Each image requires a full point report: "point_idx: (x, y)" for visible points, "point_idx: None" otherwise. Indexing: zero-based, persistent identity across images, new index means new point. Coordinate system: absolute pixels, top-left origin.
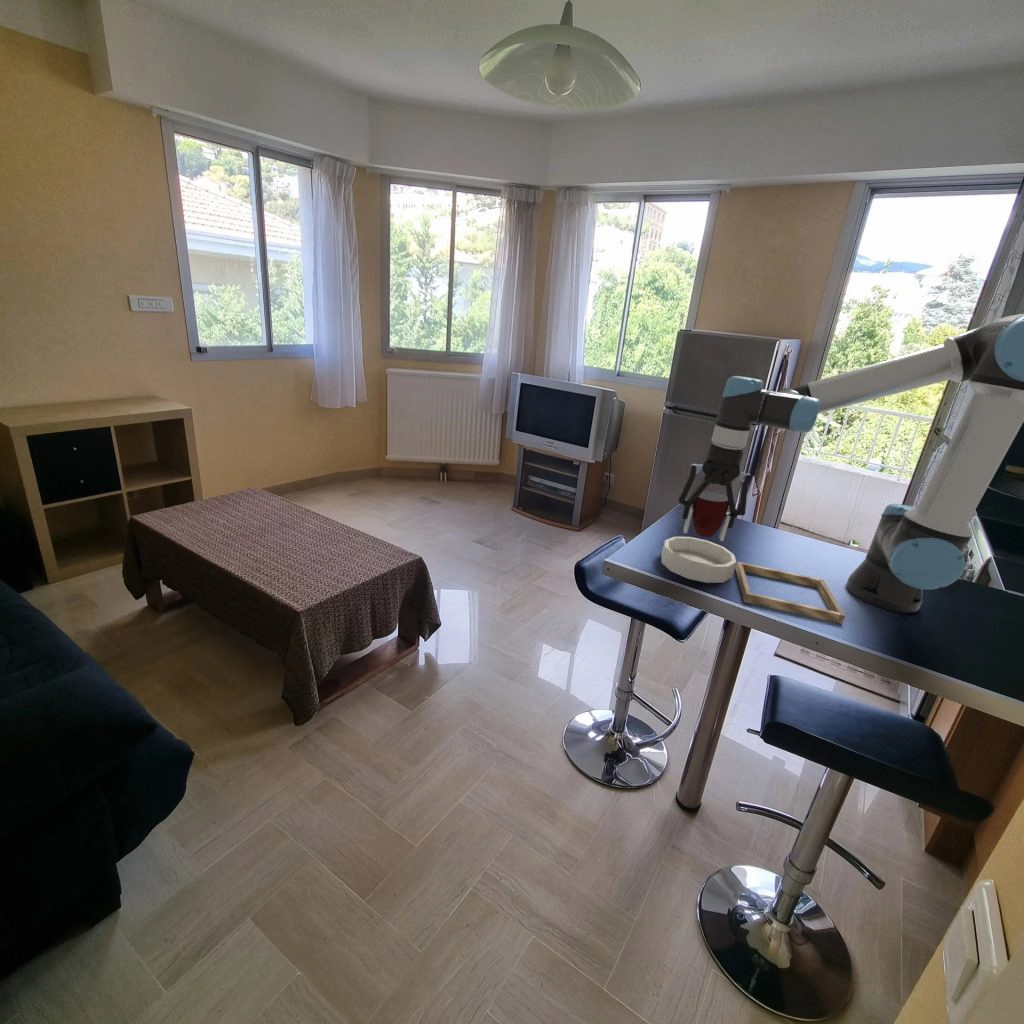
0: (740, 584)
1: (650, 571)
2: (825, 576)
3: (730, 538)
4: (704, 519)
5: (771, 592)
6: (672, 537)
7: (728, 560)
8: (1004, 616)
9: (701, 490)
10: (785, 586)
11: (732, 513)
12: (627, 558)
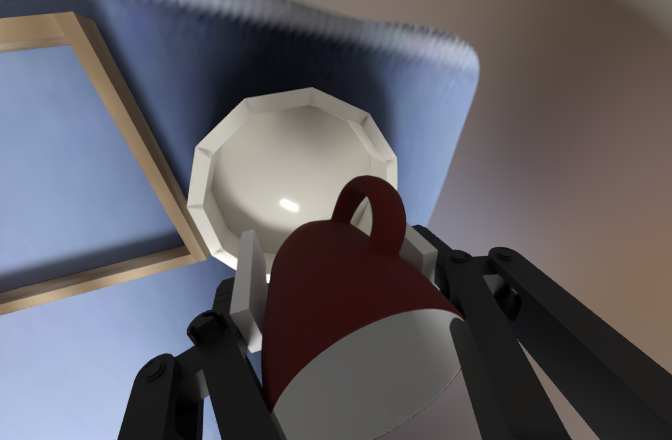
0: (156, 147)
1: (396, 65)
2: (6, 369)
3: None
4: (347, 235)
5: (61, 171)
6: None
7: (225, 238)
8: None
9: (501, 369)
10: (52, 242)
11: (220, 335)
12: (449, 111)
